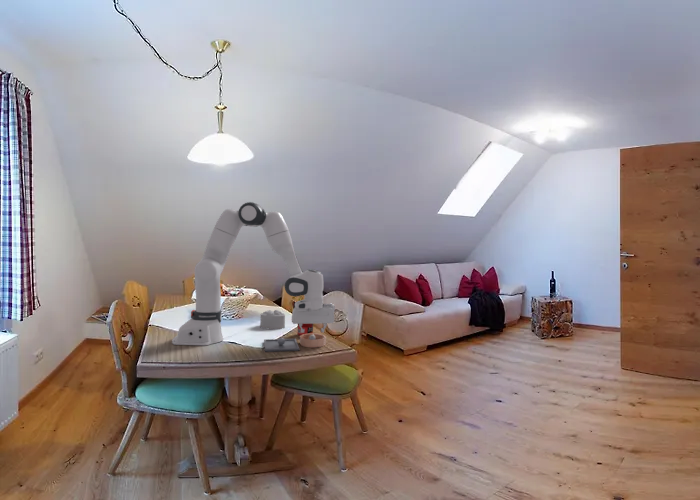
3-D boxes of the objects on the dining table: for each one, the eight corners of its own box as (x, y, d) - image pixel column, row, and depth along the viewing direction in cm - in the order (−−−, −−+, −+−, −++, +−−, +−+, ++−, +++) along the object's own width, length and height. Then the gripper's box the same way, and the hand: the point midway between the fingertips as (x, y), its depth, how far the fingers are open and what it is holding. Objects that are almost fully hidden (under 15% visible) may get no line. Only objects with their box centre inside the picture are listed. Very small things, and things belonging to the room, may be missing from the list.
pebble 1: (277, 346, 188) (277, 338, 188) (277, 344, 192) (277, 336, 192) (285, 345, 189) (285, 338, 189) (284, 343, 193) (284, 336, 192)
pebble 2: (308, 341, 199) (308, 334, 199) (315, 340, 200) (315, 333, 199) (309, 343, 196) (309, 336, 195) (316, 342, 196) (316, 335, 196)
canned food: (310, 337, 208) (311, 315, 207) (295, 336, 210) (295, 314, 209) (314, 333, 216) (315, 312, 215) (300, 332, 217) (300, 311, 217)
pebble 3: (309, 343, 196) (306, 337, 195) (315, 340, 196) (313, 334, 195) (310, 346, 192) (307, 340, 191) (317, 343, 193) (314, 337, 192)
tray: (264, 351, 181) (265, 349, 181) (263, 342, 197) (264, 339, 196) (299, 350, 184) (299, 348, 184) (295, 341, 200) (295, 338, 200)
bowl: (301, 347, 189) (301, 340, 189) (298, 340, 201) (298, 333, 201) (327, 347, 192) (327, 339, 192) (323, 340, 204) (323, 333, 203)
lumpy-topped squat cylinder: (267, 323, 234) (268, 308, 234) (288, 326, 230) (288, 310, 230) (258, 327, 225) (258, 311, 224) (279, 330, 221) (280, 314, 220)
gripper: (333, 302, 202) (332, 330, 203) (291, 302, 198) (290, 331, 198) (336, 304, 196) (335, 333, 197) (292, 305, 192) (292, 334, 192)
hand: (312, 332), depth 198 cm, fingers open, 8 cm apart
